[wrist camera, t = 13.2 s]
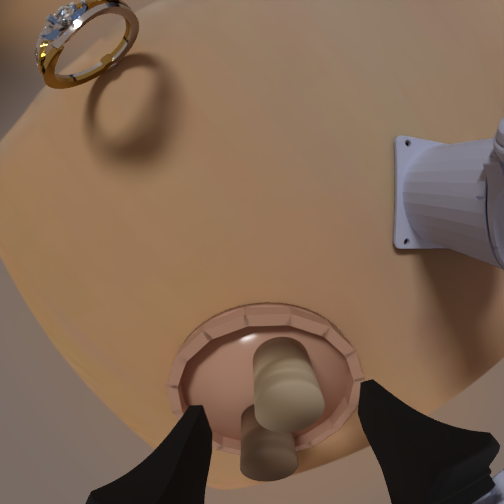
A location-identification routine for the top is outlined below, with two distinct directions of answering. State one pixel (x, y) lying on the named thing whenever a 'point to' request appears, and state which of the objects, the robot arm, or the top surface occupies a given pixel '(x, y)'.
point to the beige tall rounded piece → (285, 386)
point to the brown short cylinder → (265, 450)
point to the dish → (241, 369)
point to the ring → (67, 25)
